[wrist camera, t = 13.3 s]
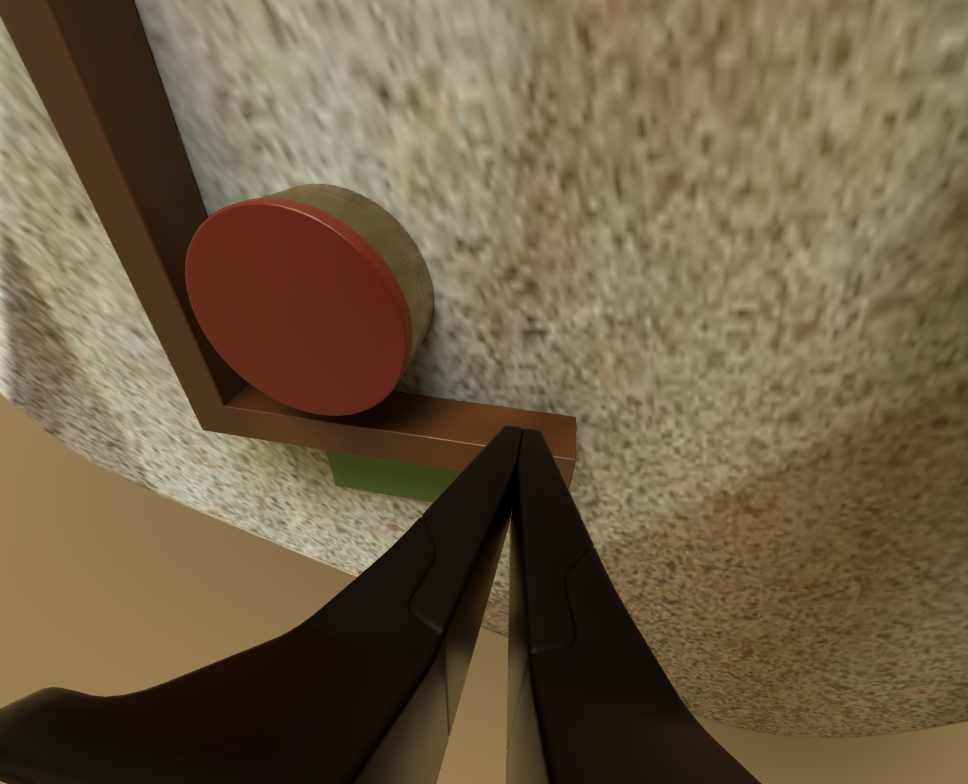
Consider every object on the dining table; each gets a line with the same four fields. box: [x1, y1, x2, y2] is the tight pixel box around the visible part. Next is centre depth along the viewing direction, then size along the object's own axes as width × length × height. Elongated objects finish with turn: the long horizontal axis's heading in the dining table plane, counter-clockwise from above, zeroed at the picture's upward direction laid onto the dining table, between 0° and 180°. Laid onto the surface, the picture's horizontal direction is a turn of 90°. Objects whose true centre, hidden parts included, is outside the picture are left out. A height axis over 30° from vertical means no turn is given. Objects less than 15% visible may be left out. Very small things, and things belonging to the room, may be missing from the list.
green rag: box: [327, 450, 461, 502], centre depth 20 cm, size 7×4×1 cm, turn 89°
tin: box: [185, 184, 433, 416], centre depth 14 cm, size 7×7×3 cm
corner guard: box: [0, 0, 576, 489], centre depth 13 cm, size 16×17×2 cm
